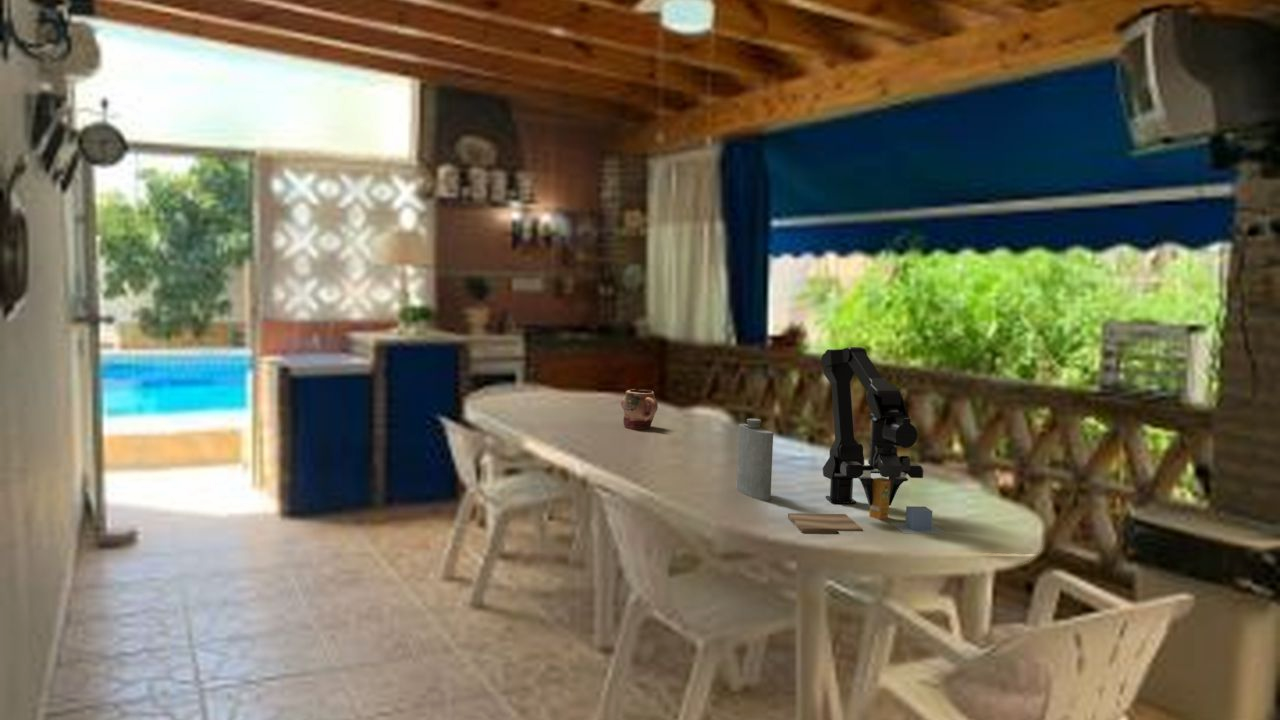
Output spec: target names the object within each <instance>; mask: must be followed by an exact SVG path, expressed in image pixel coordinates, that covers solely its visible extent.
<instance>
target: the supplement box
mask: <svg viewBox="0 0 1280 720" xmlns="http://www.w3.org/2000/svg"><path fill="white" fill-rule="evenodd" d="M872 478H873V483H872V505H869V506H870V507H869V517H870V518H872V519H873V518H874V519H877V520H882V519H883V520H884V519H888V518H889V509H890V508H889V507H890V506H889V499H890V487H891V480H890V479H889V478H888V477H882V476H880V477H872Z"/></svg>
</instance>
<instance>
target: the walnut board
mask: <svg viewBox="0 0 1280 720" xmlns="http://www.w3.org/2000/svg"><path fill="white" fill-rule="evenodd" d="M787 518H788V520H789V521H791V523H792V524H793V525H794V526H795V527H796V528H797V529H798V531H800V533H802V534H804V533H805V534H809V533H810V534H811V533H812V534H840V533H839V532H841V531H842V532H845V531H846V532H863V528H862V527H861V526H860V525H859V524H857V522H856V521H854V520H853V519H852V518H851V517H849V516H848V514H846V513H793V512H792V513H789V512H788V513H787Z"/></svg>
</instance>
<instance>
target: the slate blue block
mask: <svg viewBox="0 0 1280 720" xmlns="http://www.w3.org/2000/svg"><path fill="white" fill-rule="evenodd" d="M905 507H906V511H905V522H906V524H905V525H906V526H907V527H908V528H910V529H911V530H927V531H931V527H932V523H933V510H931V509H930V508H928V507H926V506H920V505H919V506H918V505H917V506H916V505H915V506H913V505H912V506H909V505H908V506H907V505H906V506H905Z"/></svg>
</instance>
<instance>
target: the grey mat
mask: <svg viewBox="0 0 1280 720" xmlns="http://www.w3.org/2000/svg"><path fill="white" fill-rule="evenodd" d="M889 523H890V524H892V525H893V526H894V527H895V528H896V529H898V530H899V531H900V532H901V533H903V534H906V535H907V534H909V535H910V534H913V535H916V534H917V535H918V534H919V535H921V534H922V535H923V534H924V535H948V533H947V532H946V531H944V530H943V529H942V528H940V527H939V526H937V525H935V524H934V523H933V522H932V527H931V531H927V530H911V529H910V528H908V527H907V526H906V525H905V524H906V521H905V522H904V521H903V522H901V521H900V522H897V521H896V522H894V521H892V522H891V521H890V522H889Z"/></svg>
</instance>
